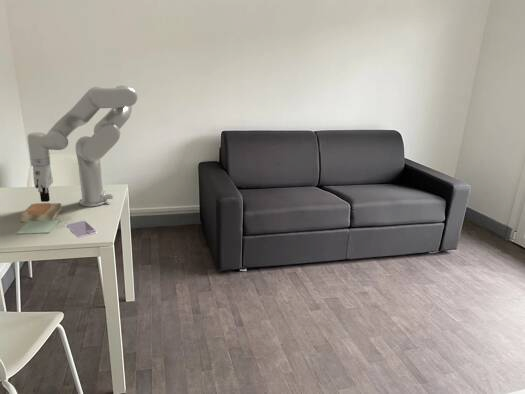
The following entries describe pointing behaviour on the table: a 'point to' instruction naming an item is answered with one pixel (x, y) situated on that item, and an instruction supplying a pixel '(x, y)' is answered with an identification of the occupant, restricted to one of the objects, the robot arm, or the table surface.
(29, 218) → the plate
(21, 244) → the table surface
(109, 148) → the robot arm
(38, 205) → the tile
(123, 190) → the table surface
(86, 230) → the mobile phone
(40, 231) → the mat
